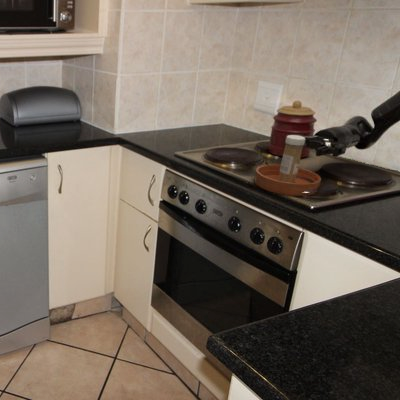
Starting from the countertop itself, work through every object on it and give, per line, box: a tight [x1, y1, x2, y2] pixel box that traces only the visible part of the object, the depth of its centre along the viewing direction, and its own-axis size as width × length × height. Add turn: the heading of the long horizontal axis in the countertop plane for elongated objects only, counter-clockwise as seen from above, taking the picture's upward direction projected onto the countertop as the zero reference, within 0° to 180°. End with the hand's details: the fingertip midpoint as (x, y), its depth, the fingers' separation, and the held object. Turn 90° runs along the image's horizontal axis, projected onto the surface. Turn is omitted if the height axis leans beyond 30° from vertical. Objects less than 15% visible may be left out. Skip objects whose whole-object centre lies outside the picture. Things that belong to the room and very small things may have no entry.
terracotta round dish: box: [253, 164, 322, 197], centre depth 133 cm, size 16×16×4 cm
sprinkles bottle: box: [278, 135, 305, 183], centre depth 131 cm, size 5×5×14 cm
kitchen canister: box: [267, 100, 318, 158], centre depth 159 cm, size 13×13×18 cm
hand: (302, 148), depth 132 cm, fingers open, 8 cm apart
